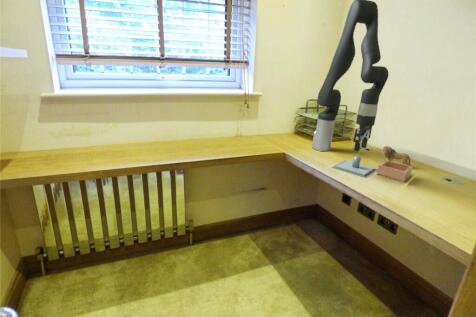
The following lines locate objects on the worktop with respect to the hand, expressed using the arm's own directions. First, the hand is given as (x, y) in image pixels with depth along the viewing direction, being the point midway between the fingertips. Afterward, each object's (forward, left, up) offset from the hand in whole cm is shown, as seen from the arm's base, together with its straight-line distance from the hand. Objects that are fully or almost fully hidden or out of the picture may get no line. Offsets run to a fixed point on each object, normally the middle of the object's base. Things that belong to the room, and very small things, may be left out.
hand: (359, 149), depth 130 cm
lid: (0, 0, -10) cm, 10 cm away
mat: (0, 0, -10) cm, 10 cm away
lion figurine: (+10, +23, -10) cm, 27 cm away
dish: (+15, +6, -10) cm, 19 cm away
